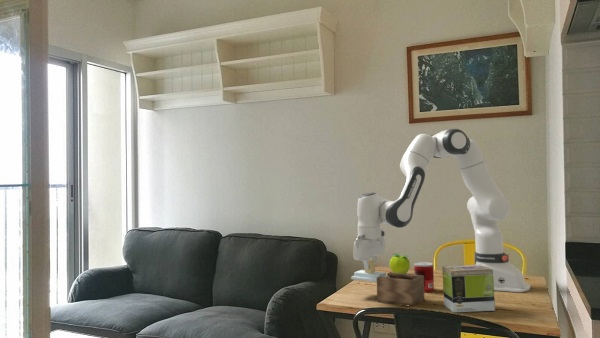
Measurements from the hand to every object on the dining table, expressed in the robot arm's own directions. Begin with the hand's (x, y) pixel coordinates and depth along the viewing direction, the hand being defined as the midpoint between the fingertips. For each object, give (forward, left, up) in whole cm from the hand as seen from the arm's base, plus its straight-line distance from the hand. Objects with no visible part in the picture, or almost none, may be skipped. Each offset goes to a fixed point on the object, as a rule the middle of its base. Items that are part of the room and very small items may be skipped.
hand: (369, 268), depth 195 cm
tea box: (-38, -2, -12) cm, 40 cm away
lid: (0, 0, -4) cm, 4 cm away
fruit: (+8, -45, -12) cm, 47 cm away
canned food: (-14, -21, -12) cm, 28 cm away
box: (-13, 0, -11) cm, 17 cm away
